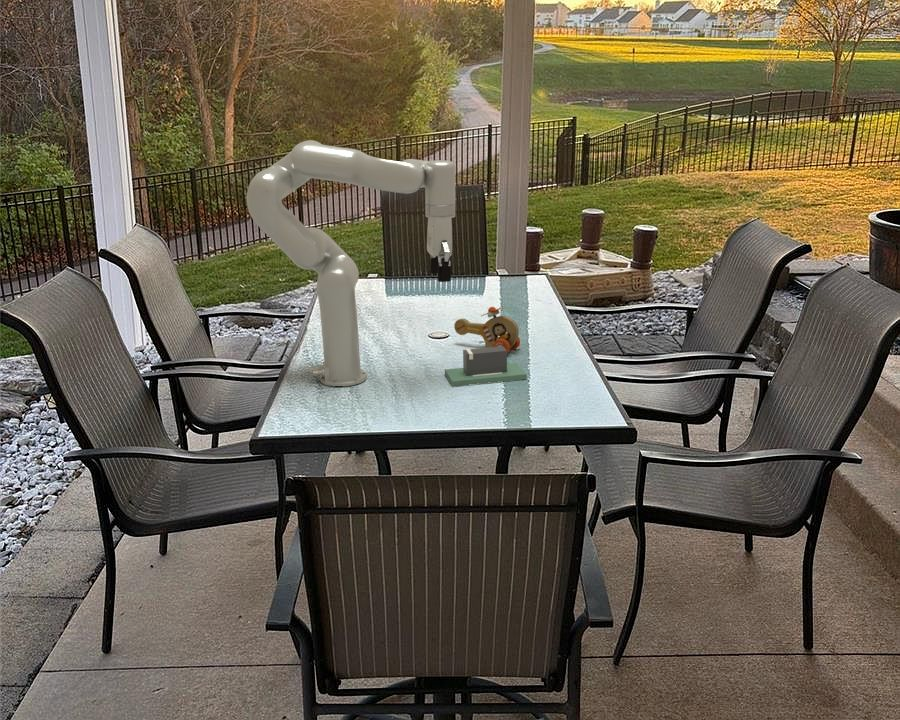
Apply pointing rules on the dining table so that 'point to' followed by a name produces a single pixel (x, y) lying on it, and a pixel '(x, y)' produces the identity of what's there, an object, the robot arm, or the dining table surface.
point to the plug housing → (484, 360)
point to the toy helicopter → (492, 330)
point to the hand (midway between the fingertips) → (440, 277)
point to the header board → (485, 376)
